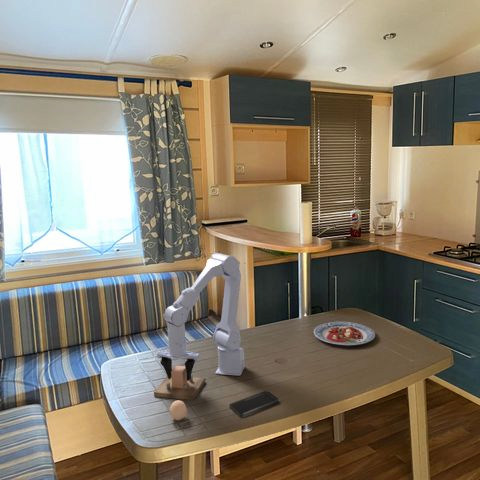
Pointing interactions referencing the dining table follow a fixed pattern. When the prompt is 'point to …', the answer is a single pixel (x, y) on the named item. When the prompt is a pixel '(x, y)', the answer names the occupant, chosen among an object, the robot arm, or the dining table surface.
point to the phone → (254, 403)
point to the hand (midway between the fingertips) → (179, 378)
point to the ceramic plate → (344, 333)
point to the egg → (178, 410)
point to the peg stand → (180, 389)
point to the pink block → (179, 376)
